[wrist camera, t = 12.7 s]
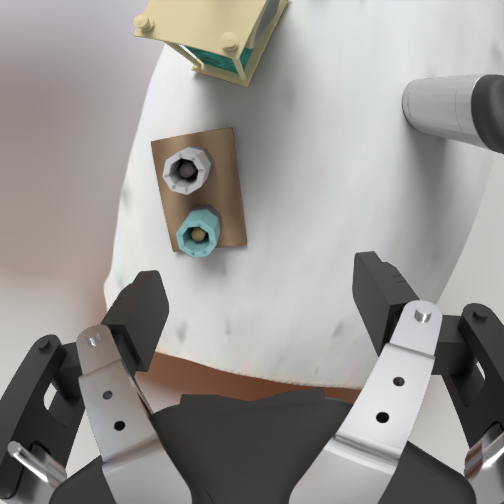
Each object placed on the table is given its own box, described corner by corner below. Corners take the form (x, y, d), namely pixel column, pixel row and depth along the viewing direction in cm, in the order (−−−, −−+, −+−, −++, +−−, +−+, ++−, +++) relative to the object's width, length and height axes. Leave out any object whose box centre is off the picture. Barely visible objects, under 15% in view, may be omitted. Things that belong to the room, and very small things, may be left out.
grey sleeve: (200, 139, 39) (190, 143, 33) (219, 170, 41) (213, 180, 35) (169, 158, 40) (155, 166, 34) (188, 188, 42) (177, 201, 36)
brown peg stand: (232, 127, 39) (228, 129, 33) (246, 240, 47) (245, 260, 41) (154, 140, 40) (137, 145, 34) (175, 247, 48) (165, 266, 42)
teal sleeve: (218, 203, 43) (212, 218, 37) (224, 236, 45) (219, 255, 39) (184, 207, 43) (172, 222, 37) (190, 239, 46) (181, 259, 40)
